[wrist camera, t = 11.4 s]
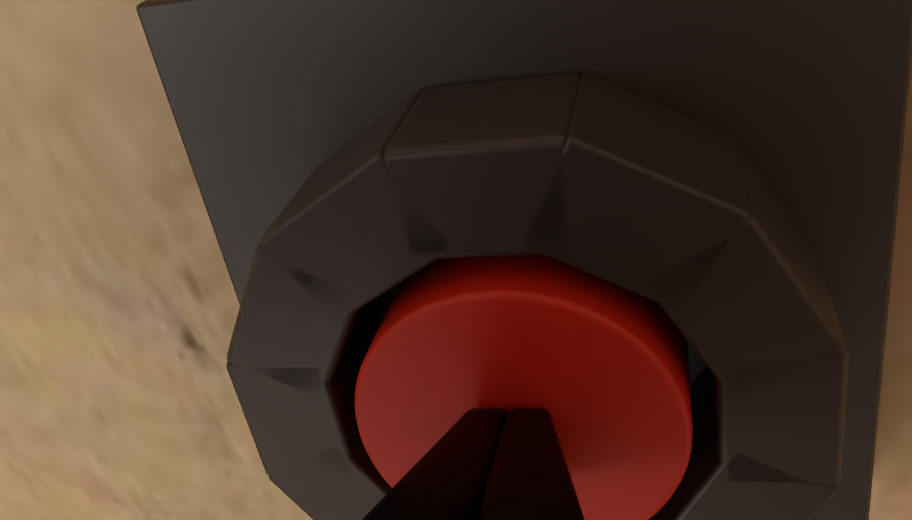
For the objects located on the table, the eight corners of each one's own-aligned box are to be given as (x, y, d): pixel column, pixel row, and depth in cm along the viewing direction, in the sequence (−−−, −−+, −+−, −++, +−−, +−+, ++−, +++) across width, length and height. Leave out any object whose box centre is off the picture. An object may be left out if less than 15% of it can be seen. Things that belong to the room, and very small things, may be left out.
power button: (692, 449, 11) (698, 560, 9) (422, 447, 12) (389, 548, 10) (682, 198, 9) (686, 285, 8) (365, 217, 10) (315, 299, 9)
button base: (835, 471, 14) (893, 709, 10) (366, 464, 16) (288, 661, 12) (874, -137, 9) (996, -67, 6) (217, -39, 11) (33, 56, 8)
